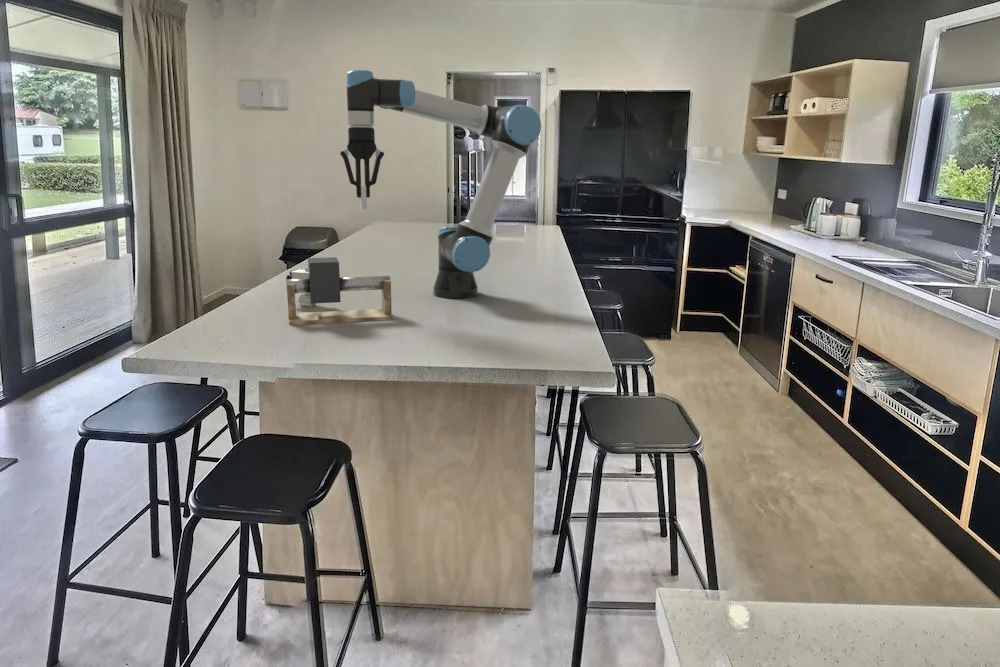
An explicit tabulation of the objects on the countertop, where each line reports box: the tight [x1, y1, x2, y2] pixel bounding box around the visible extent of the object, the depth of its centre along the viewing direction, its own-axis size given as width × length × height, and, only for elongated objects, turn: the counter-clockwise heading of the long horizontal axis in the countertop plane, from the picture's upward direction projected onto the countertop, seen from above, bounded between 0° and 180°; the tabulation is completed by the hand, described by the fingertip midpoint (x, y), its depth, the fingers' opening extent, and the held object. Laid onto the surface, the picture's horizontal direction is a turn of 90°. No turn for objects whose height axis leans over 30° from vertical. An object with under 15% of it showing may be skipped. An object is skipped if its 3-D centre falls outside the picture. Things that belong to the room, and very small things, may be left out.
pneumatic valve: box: [285, 267, 318, 308], centre depth 222 cm, size 6×12×12 cm, turn 78°
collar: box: [307, 256, 342, 304], centre depth 204 cm, size 8×9×12 cm
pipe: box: [285, 275, 391, 294], centre depth 205 cm, size 29×4×4 cm, turn 107°
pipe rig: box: [286, 279, 394, 326], centre depth 207 cm, size 29×10×11 cm, turn 107°
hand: (363, 208), depth 214 cm, fingers closed
